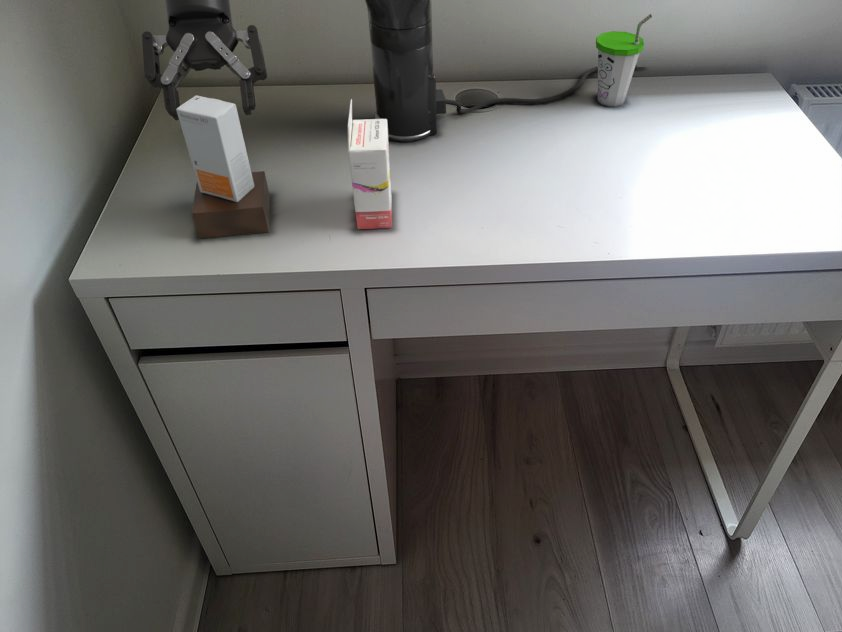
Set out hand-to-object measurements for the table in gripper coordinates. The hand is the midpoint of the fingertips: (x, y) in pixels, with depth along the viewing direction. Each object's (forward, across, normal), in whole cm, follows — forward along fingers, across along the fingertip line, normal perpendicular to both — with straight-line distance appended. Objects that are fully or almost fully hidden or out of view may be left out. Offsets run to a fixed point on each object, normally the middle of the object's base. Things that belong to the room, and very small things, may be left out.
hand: (212, 115), depth 88 cm
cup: (-6, +62, +27) cm, 68 cm away
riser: (+11, 0, +9) cm, 14 cm away
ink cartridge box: (+12, +19, +8) cm, 24 cm away
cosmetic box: (+8, 0, +6) cm, 10 cm away
